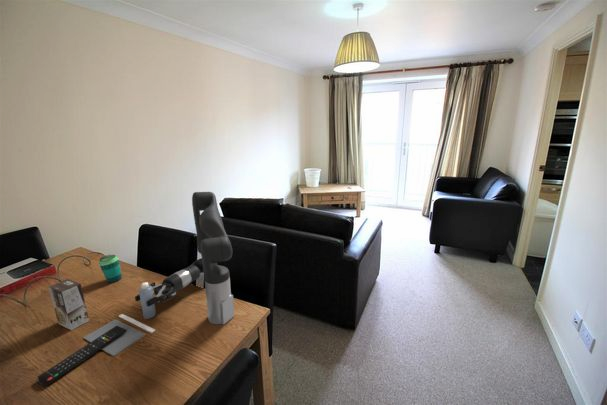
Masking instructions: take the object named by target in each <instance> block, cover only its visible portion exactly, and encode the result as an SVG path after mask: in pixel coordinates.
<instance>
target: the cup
mask: <svg viewBox="0 0 607 405" xmlns="http://www.w3.org/2000/svg"><path fill="white" fill-rule="evenodd" d="M98 266H99V267H100V268H101V272H102V273H103V275H104V278H105V279H106V280H107V282H108V283H110V284H111V283H116V282H119V281H121V279H122V277H123V276H122V270H121V269H122V268H121V265H120V261H119V257H118V256H117V255H115V254H108V255H104V256H102V257H100V258H99V262H98Z"/></svg>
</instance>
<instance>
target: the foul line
mask: <svg viewBox="0 0 607 405" xmlns="http://www.w3.org/2000/svg"><path fill="white" fill-rule="evenodd" d="M118 317H119V318H120V319H122V320H125V321H127V322H128V323H131V324H132V325H135V326H137V327H139V328H141V329H143V330H144V331H147V332H149V333H151V334H152V333H154V332H155V331H156V329H155V328H154V327H153V328H152V327H151V326H148V325H146V324H144V323H142V322H140V321H138V320H136V319H134V318H132V317H130V316H128V315H125V314H123V313H122V314H119V315H118Z"/></svg>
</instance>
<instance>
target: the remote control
mask: <svg viewBox="0 0 607 405" xmlns="http://www.w3.org/2000/svg"><path fill="white" fill-rule="evenodd" d="M125 332H126V329H124V328H121V327H119V326H115V327H114V328H112V329H110V330H109V331H107V332H106V333H104V334H103V335H101V336H100V337H98V338H97V339H95V340H93V341H92V342H89V343H87V344H85V345H84V346H83V347H82V348H79V349H78V350H77V351H75V352H74V353H72V354H71V355H69V356H68V357H65V358H63V360H61V361H59V362H58V363H57V364H55V365H53V366H51V367H50V368H49V369H47V370H45V371H44V372H42V373H41V374H40V375H38V376H37V381H38V382H39V384H40V385H41V386H43V387H46V386H50V384H52V383H53V382H55V381H56V380H58V379H59V378H61V377H62V376H63V375H66V373H68V372H69V371H71V370H72V369H73V368H75V367H77V366H78V365H79V364H81V363H82V362H84V361H86V360H87V359H88V358H90V357H92V355H95V353H97V352H98V351H101V350H102V349H101V348H103V347H104V346H106V345H107V344H109V343H110V342H112V341H113V340H114V339H116V338H117V337H119V336H120V335H122V334H123V333H125Z"/></svg>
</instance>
